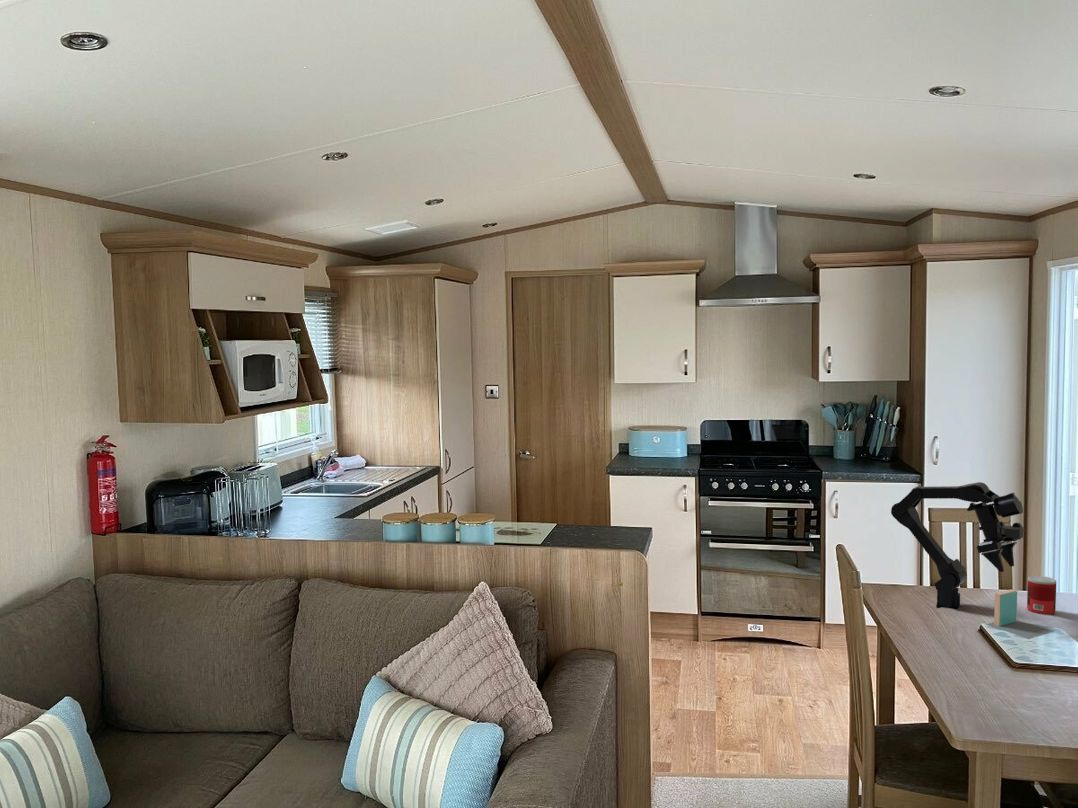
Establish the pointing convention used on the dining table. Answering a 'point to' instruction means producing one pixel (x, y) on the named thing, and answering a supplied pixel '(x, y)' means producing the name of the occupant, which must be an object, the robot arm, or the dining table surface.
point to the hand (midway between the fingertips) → (1007, 569)
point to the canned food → (1041, 595)
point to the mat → (1022, 629)
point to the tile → (1005, 607)
